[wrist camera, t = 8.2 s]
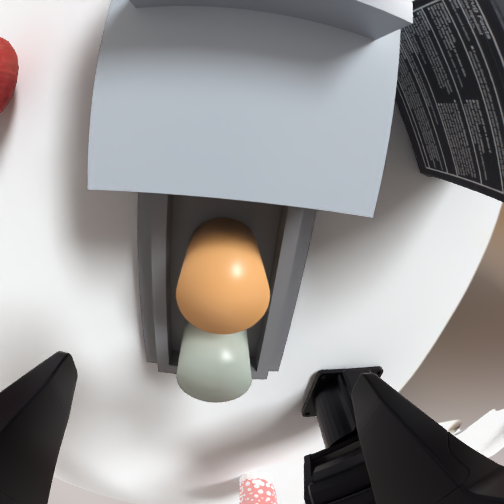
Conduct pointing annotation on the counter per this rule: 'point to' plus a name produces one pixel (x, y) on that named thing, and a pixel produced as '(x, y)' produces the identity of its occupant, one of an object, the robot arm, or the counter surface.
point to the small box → (455, 91)
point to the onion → (7, 72)
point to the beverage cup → (257, 489)
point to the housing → (166, 279)
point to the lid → (247, 100)
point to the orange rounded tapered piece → (223, 278)
